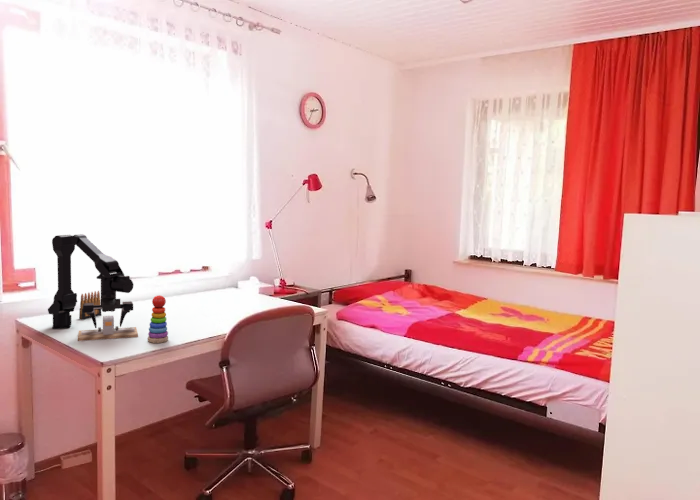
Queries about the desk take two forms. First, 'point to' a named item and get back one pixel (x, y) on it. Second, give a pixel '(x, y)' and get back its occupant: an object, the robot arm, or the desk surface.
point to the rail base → (99, 335)
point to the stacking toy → (158, 321)
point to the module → (108, 325)
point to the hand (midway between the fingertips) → (108, 327)
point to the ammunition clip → (94, 299)
